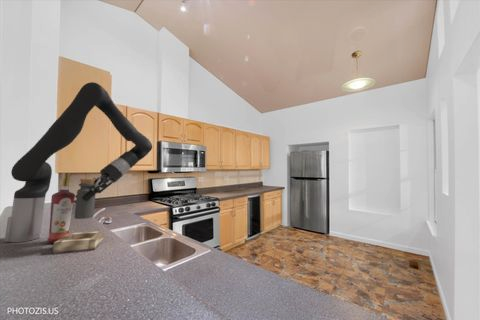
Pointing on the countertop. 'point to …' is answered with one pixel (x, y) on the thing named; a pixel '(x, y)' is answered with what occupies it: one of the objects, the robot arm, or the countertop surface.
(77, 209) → the bottle
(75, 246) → the wooden tray
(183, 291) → the countertop surface
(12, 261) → the countertop surface
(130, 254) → the countertop surface
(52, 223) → the liquor
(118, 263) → the countertop surface
